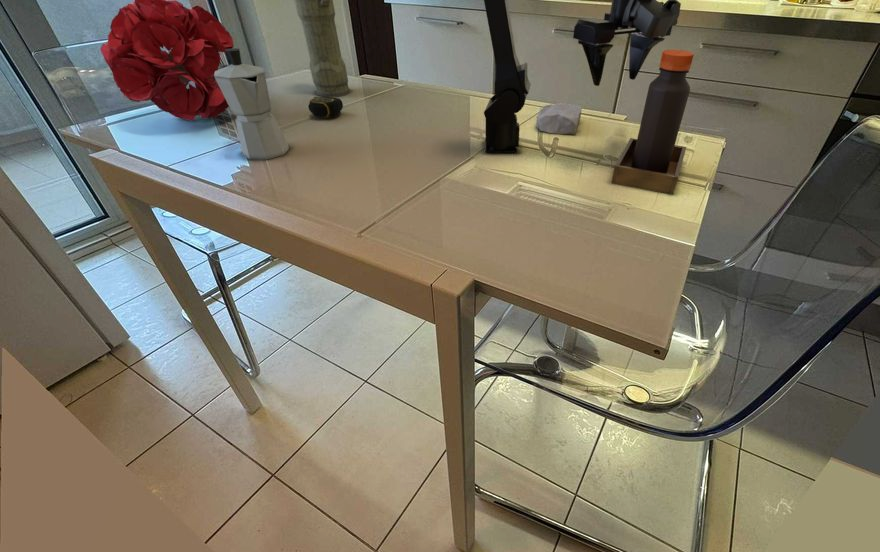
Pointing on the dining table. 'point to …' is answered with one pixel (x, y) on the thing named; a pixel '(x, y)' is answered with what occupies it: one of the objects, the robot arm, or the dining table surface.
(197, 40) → the bouquet
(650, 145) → the vinegar
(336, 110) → the tape measure
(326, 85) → the greenish beige column
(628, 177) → the tray
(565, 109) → the stone block
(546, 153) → the dining table surface
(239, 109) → the coffee maker
